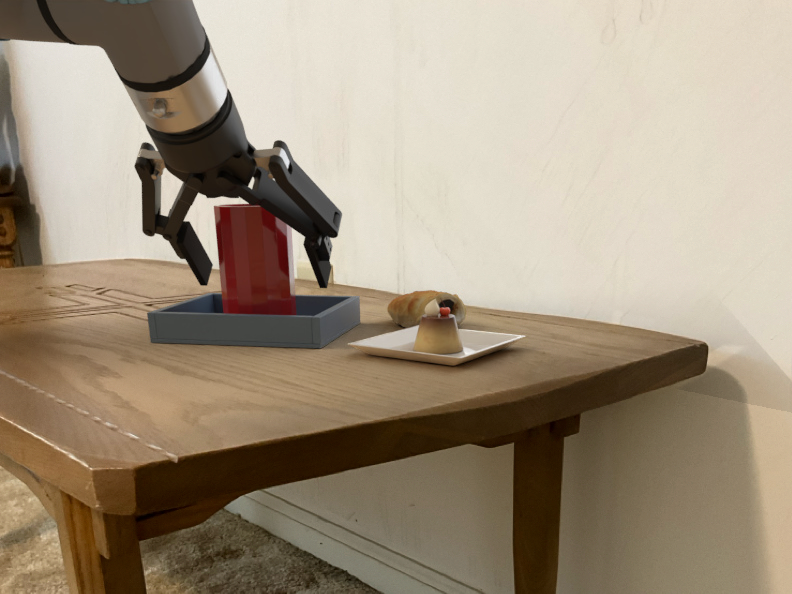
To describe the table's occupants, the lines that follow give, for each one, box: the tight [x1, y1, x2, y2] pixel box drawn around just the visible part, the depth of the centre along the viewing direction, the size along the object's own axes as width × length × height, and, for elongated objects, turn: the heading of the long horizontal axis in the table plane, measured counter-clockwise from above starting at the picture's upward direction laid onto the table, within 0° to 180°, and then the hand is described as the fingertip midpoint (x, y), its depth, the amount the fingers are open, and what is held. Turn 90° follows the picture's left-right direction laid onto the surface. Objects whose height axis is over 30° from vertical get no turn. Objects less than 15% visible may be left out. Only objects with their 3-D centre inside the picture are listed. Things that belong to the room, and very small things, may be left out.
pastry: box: [386, 289, 467, 328], centre depth 92 cm, size 9×7×4 cm
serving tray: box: [146, 292, 361, 349], centre depth 88 cm, size 18×15×3 cm
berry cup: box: [213, 203, 297, 315], centre depth 86 cm, size 7×7×12 cm
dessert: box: [347, 299, 526, 367], centre depth 77 cm, size 12×12×5 cm
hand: (265, 276), depth 89 cm, fingers open, 12 cm apart
